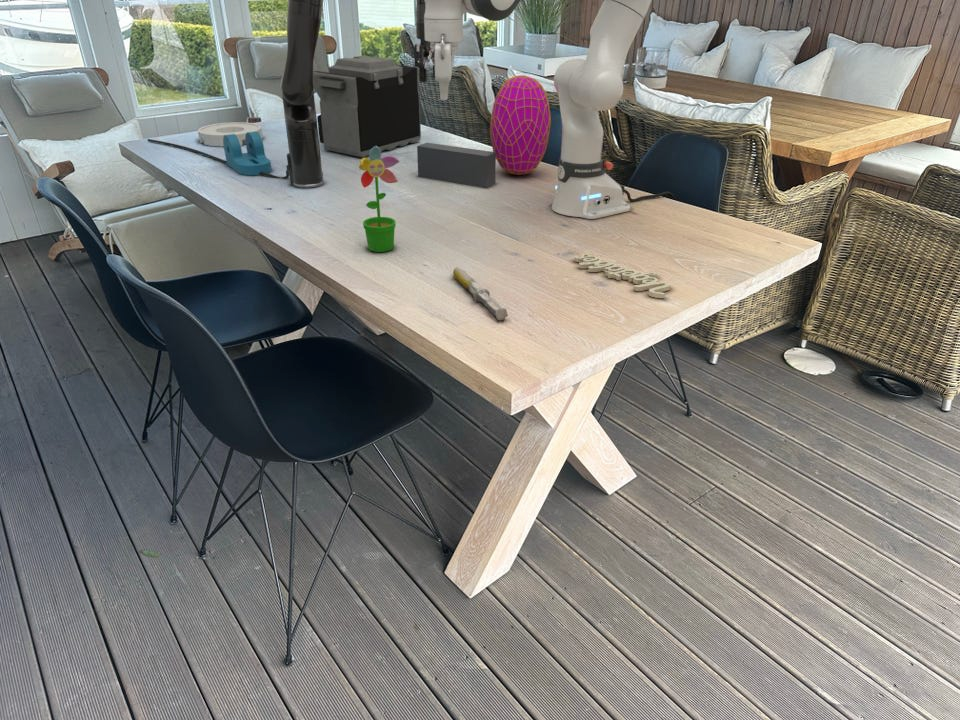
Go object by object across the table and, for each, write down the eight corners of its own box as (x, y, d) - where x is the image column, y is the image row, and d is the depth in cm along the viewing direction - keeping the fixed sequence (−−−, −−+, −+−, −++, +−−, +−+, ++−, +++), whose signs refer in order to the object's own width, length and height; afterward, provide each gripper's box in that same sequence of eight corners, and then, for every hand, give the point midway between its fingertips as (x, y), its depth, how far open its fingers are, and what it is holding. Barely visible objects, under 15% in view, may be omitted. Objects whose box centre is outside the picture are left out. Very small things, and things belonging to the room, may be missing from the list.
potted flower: (369, 256, 164) (361, 149, 151) (358, 245, 170) (349, 142, 157) (406, 249, 167) (401, 145, 155) (394, 239, 173) (388, 138, 161)
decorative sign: (686, 282, 150) (660, 295, 144) (686, 286, 150) (659, 300, 144) (592, 249, 166) (565, 259, 160) (592, 253, 167) (565, 263, 161)
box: (418, 176, 223) (416, 146, 218) (427, 172, 228) (426, 142, 223) (486, 188, 213) (487, 156, 208) (495, 183, 218) (496, 152, 213)
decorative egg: (522, 185, 216) (526, 83, 200) (477, 173, 227) (478, 76, 212) (559, 173, 228) (566, 76, 213) (514, 162, 239) (517, 70, 224)
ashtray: (212, 132, 275) (211, 121, 273) (270, 133, 274) (268, 122, 272) (190, 145, 255) (187, 134, 253) (251, 147, 254) (250, 135, 252)
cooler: (383, 133, 276) (378, 52, 261) (425, 141, 265) (422, 56, 250) (314, 150, 251) (304, 61, 235) (358, 160, 240) (350, 67, 224)
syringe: (449, 274, 155) (449, 263, 153) (465, 272, 156) (464, 260, 154) (490, 323, 135) (491, 310, 133) (508, 319, 136) (508, 307, 134)
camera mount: (227, 164, 233) (221, 132, 227) (257, 160, 238) (252, 129, 233) (244, 176, 220) (239, 143, 215) (276, 172, 225) (271, 139, 220)
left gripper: (428, 23, 194) (429, 84, 202) (451, 19, 205) (451, 77, 214) (405, 22, 197) (407, 82, 205) (429, 18, 208) (430, 76, 216)
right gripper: (456, 37, 149) (457, 104, 156) (458, 28, 166) (458, 89, 173) (427, 37, 149) (429, 104, 156) (432, 28, 166) (433, 89, 173)
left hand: (430, 80), depth 209 cm, fingers open, 8 cm apart
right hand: (444, 96), depth 165 cm, fingers open, 8 cm apart
